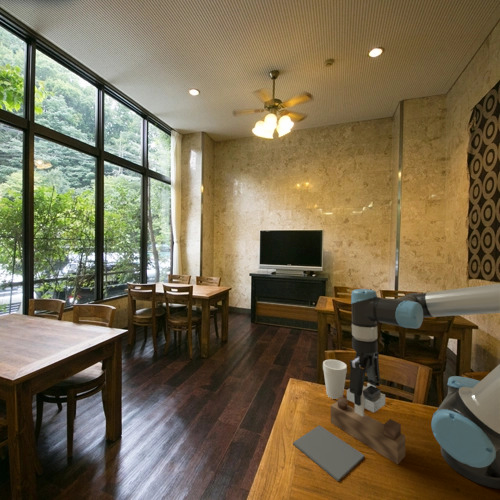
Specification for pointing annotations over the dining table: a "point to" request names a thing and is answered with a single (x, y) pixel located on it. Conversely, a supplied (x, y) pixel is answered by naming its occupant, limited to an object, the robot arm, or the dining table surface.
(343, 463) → the rubber mat
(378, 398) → the light grey block
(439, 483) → the dining table surface
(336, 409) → the plane body
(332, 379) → the foam cup
